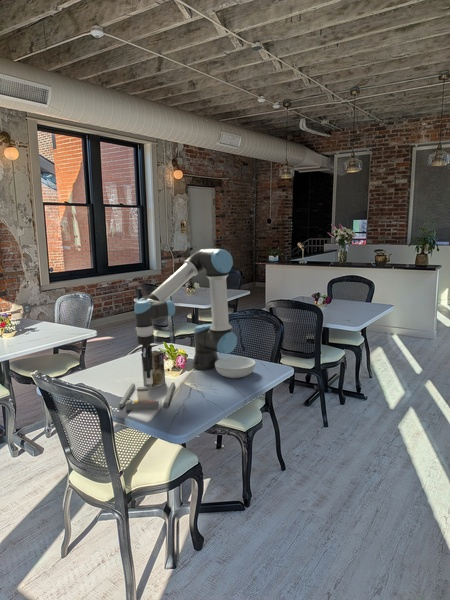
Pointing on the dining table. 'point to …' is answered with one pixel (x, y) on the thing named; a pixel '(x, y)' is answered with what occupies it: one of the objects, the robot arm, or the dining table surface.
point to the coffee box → (156, 370)
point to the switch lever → (143, 394)
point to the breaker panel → (144, 404)
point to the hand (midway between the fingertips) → (149, 383)
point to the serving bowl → (235, 366)
